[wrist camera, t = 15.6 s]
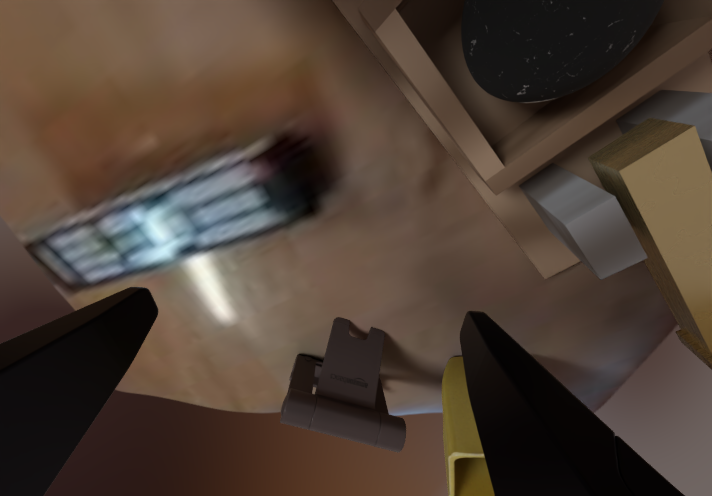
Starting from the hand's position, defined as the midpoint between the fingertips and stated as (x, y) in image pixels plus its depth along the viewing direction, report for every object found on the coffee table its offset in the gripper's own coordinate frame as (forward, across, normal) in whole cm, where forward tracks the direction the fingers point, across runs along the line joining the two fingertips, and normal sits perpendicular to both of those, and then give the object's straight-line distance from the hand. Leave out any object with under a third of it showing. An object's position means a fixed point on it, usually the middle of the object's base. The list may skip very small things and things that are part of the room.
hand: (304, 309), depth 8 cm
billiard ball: (+11, -8, -8) cm, 16 cm away
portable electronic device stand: (+12, 0, +17) cm, 21 cm away
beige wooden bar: (+8, -17, +2) cm, 19 cm away
